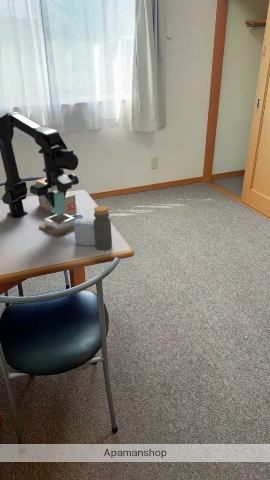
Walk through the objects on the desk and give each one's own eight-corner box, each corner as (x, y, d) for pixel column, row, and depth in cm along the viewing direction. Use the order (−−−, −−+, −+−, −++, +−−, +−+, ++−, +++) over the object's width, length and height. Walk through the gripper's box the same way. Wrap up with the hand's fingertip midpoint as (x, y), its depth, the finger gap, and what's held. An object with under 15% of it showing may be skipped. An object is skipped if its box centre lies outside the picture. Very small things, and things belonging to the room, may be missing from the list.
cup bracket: (45, 225, 141) (44, 218, 140) (62, 218, 147) (61, 212, 145) (58, 231, 136) (57, 224, 135) (75, 224, 142) (74, 217, 140)
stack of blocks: (77, 215, 153) (74, 187, 147) (65, 219, 149) (61, 191, 143) (50, 201, 167) (47, 176, 161) (39, 205, 163) (35, 179, 157)
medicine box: (99, 240, 131) (97, 219, 127) (96, 246, 127) (95, 224, 123) (78, 239, 132) (76, 218, 128) (75, 245, 128) (73, 223, 124)
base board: (39, 228, 141) (38, 225, 141) (63, 218, 149) (62, 216, 149) (57, 237, 134) (57, 234, 134) (81, 226, 142) (81, 224, 142)
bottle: (111, 250, 124) (109, 211, 117) (95, 251, 124) (91, 211, 117) (112, 243, 129) (110, 204, 122) (96, 243, 129) (93, 205, 122)
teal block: (51, 212, 138) (48, 192, 135) (59, 208, 141) (57, 189, 137) (57, 214, 136) (55, 195, 132) (65, 211, 139) (63, 192, 135)
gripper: (44, 176, 119) (50, 219, 127) (86, 164, 131) (89, 203, 139) (25, 170, 126) (32, 211, 133) (67, 159, 138) (71, 197, 145)
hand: (57, 205), depth 137 cm, fingers closed on teal block, 4 cm apart
